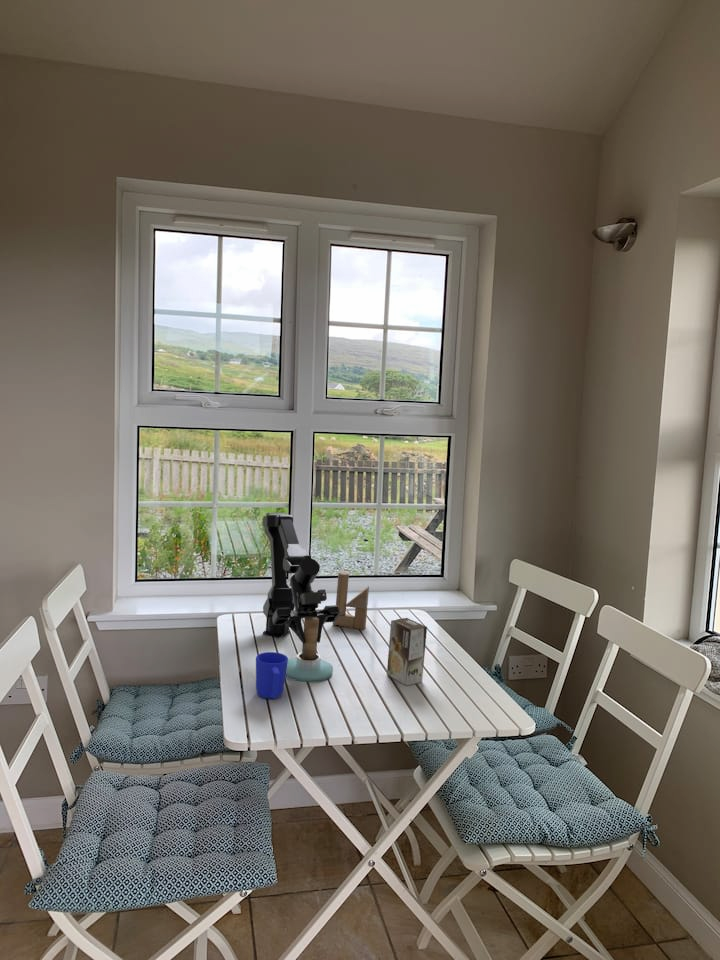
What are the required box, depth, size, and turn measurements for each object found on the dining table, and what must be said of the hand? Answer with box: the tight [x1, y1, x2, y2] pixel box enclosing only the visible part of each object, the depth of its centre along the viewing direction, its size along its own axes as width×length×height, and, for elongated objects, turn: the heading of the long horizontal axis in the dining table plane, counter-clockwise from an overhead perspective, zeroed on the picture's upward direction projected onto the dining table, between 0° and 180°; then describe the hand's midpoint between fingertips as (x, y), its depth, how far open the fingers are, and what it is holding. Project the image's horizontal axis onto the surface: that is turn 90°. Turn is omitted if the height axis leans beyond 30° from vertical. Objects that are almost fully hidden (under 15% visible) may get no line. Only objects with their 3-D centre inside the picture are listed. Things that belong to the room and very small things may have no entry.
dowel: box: [301, 617, 319, 660], centre depth 209 cm, size 4×4×13 cm
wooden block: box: [332, 571, 370, 630], centre depth 251 cm, size 4×11×18 cm, turn 79°
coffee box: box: [386, 617, 428, 686], centre depth 210 cm, size 9×6×16 cm
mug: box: [255, 651, 289, 700], centre depth 190 cm, size 8×12×10 cm
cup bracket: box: [285, 652, 334, 683], centre depth 210 cm, size 14×14×4 cm
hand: (311, 642), depth 208 cm, fingers closed on dowel, 4 cm apart
